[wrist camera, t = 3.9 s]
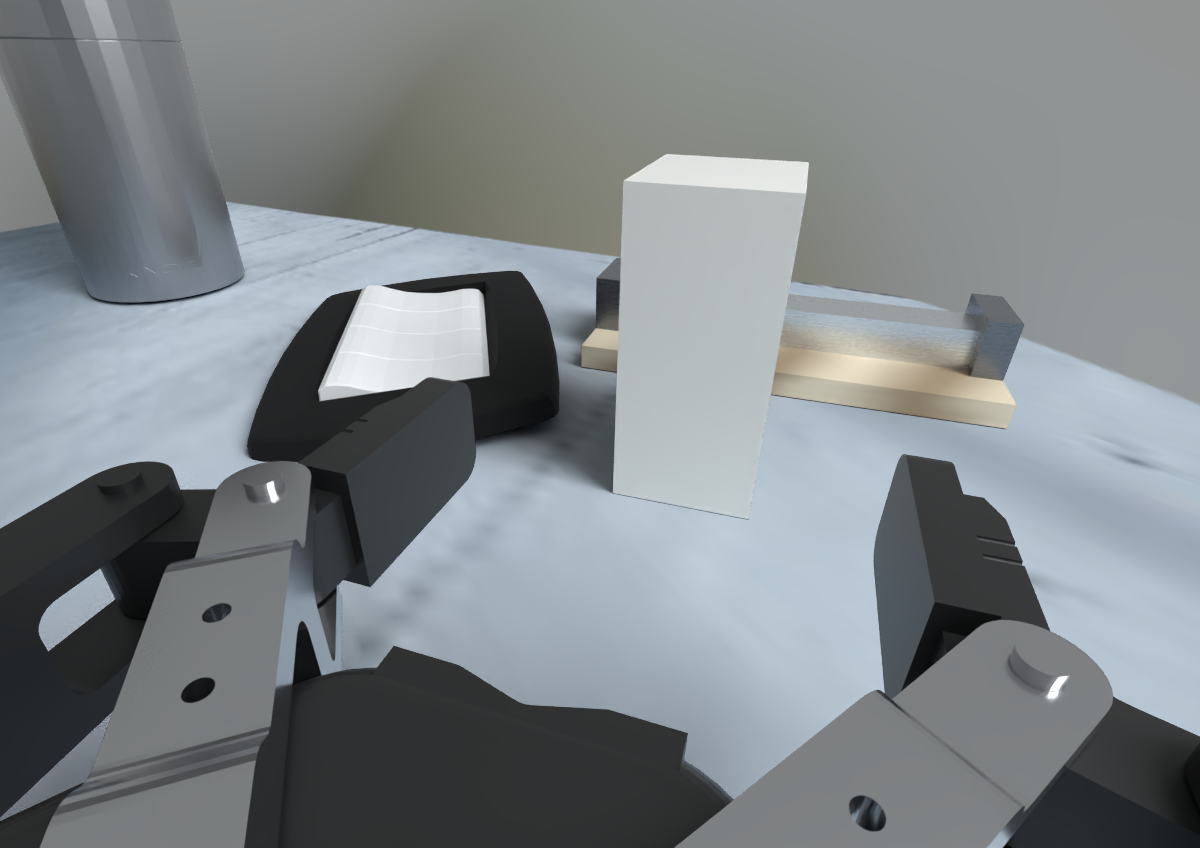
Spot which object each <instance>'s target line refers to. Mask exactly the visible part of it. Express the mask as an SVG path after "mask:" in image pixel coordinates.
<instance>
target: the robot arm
mask: <svg viewBox="0 0 1200 848" xmlns="http://www.w3.org/2000/svg"><path fill="white" fill-rule="evenodd" d="M0 76H1V79H2V81H3V84H4V86H5V89H6V91H7V94H8V96H9V98H10V101H11V103H12V105H13V108H14V111H15V113H16V115H17V118H18V120H19V123H20V125H21V128H22V130H23V133H24V135H25V138H26V140H27V142H28V145H29V148H30V150H31V152H32V155H33V157H34V160H35V162H36V165H37V167H38V170H39V172H40V175H41V177H42V179H43V182H44V184H45V187H46V189H47V191H48V194H49V197H50V199H51V202H52V204H53V206H54V209H55V211H56V214H57V216H58V219H59V221H60V224H61V226H62V229H63V231H64V234H65V237H66V239H67V241H68V244H69V246H70V249H71V251H72V254H73V256H74V259H75V261H76V263H77V266H78V268H79V271H80V273H81V276H82V278H83V280H84V283H85V285H86V288H87V290H88V293H89V294H90V295H91V296H92V297H95V298H97V299H100V300H105V301H113V302H151V301H162V300H170V299H177V298H183V297H189V296H194V295H198V294H203V293H207V292H210V291H213V290H217V289H220V288H223V287H225V286H228V285H230V284H232V283H234V282H236V281H238V280H239V279H240V278H241V277H242V276H243V275H244V272H245V271H244V267H243V264H242V260H241V256H240V253H239V249H238V246H237V242H236V238H235V235H234V231H233V227H232V224H231V220H230V216H229V212H228V208H227V205H226V201H225V197H224V194H223V190H222V187H221V183H220V179H219V176H218V172H217V169H216V165H215V162H214V157H213V154H212V151H211V146H210V143H209V139H208V136H207V132H206V128H205V125H204V121H203V118H202V114H201V110H200V106H199V103H198V99H197V96H196V92H195V89H194V85H193V81H192V77H191V74H190V71H189V66H188V63H187V59H186V56H185V52H184V49H183V45H182V43H181V39H180V35H179V31H178V28H177V24H176V20H175V17H174V13H173V10H172V6H171V2H170V0H0ZM475 458H476V446H475V436H474V425H473V414H472V403H471V394H470V390H469V388H468V386H467V385H466V384H465V383H463V382H457V381H451V380H445V379H439V378H433V377H428V378H426V379H424V380H423V381H421V382H420V383H418V384H417V385H416V386H414V387H413V388H412V389H410V390H409V391H408V392H406V393H405V394H404V395H402V396H401V397H398V398H395V399H393V400H390V401H388V402H385V403H383V404H380V405H378V406H376V407H375V408H373V409H372V410H370V411H369V412H368V413H366V414H365V415H363V416H362V417H361V418H359V422H358V421H355V422H354V423H352V424H351V425H350V426H348V427H347V428H345V431H344V432H340V433H338V434H337V435H336V436H334V437H333V438H331V439H330V440H329V441H327V442H326V443H325V444H323V445H322V446H320V447H319V448H318V449H316V450H315V451H313V452H312V453H311V454H309V455H308V456H306V457H305V458H304V459H302V460H301V461H300V462H298V463H296V462H291V461H274V462H266V463H261V464H257V465H254V466H251V467H248V468H245V469H243V470H240V471H238V472H236V473H235V474H233V475H231V476H230V477H228V478H227V479H225V480H224V481H223V482H222V483H221V484H220V485H219V487H218V488H217V489H207V490H180V488H179V485H178V482H177V480H176V477H175V474H174V472H173V470H172V468H171V467H170V466H168V465H166V464H164V463H160V462H136V463H129V464H125V465H120V466H117V467H113V468H110V469H108V470H105V471H102V472H100V473H98V474H95V475H93V476H91V477H89V478H88V479H86V480H84V481H82V482H81V483H79V484H77V485H75V486H74V487H72V488H70V489H68V490H67V491H65V492H63V493H62V494H60V495H58V496H56V497H55V498H53V499H51V500H49V501H48V502H46V503H44V504H42V505H41V506H39V507H37V508H35V509H34V510H32V511H30V512H28V513H27V514H25V515H23V516H22V517H20V518H18V519H16V520H15V521H13V522H11V523H9V524H8V525H6V526H4V527H2V528H1V529H0V817H1V816H2V815H3V814H4V813H5V812H6V811H7V810H8V809H10V808H11V807H12V806H13V805H14V804H15V803H16V802H17V801H18V800H19V799H20V798H21V797H22V796H23V795H24V794H25V793H26V792H28V791H29V790H30V789H31V788H32V787H33V786H34V785H35V784H36V783H37V782H38V781H39V780H40V779H41V778H42V777H43V776H44V775H46V774H47V773H48V772H49V771H50V770H51V769H52V768H53V767H54V766H55V765H56V764H57V763H58V762H59V761H60V760H61V759H63V758H64V757H65V756H66V755H67V754H68V753H69V752H70V751H71V750H72V749H73V748H74V747H75V746H76V745H77V744H78V743H79V742H81V741H82V740H83V739H84V738H85V737H86V736H87V735H88V734H89V733H90V732H91V731H92V730H93V729H94V728H95V727H96V726H97V725H99V724H100V723H101V722H102V721H103V720H104V719H105V718H106V717H107V716H108V715H109V714H110V713H111V712H112V711H113V710H114V711H113V714H112V716H111V719H110V722H109V725H108V727H107V730H106V733H105V736H104V738H103V741H102V744H101V747H100V749H99V752H98V755H97V757H96V760H95V763H94V766H93V768H92V771H91V773H90V775H89V777H88V779H87V780H86V781H85V782H84V783H81V784H79V785H77V786H75V787H73V788H71V789H68V790H66V791H64V792H62V793H60V794H58V795H56V796H53V797H51V798H49V799H47V800H45V801H43V802H40V803H38V804H36V805H34V806H32V807H30V808H28V809H25V810H23V811H21V812H19V813H17V814H15V815H12V816H10V817H8V818H6V819H4V820H2V821H0V848H1200V736H1197V735H1195V734H1193V733H1191V732H1188V731H1186V730H1184V729H1182V728H1179V727H1177V726H1175V725H1173V724H1170V723H1168V722H1166V721H1164V720H1161V719H1159V718H1157V717H1155V716H1152V715H1150V714H1148V713H1146V712H1143V711H1141V710H1139V709H1137V708H1134V707H1132V706H1130V705H1128V704H1126V703H1124V702H1122V701H1120V700H1118V699H1116V698H1115V697H1113V693H1112V688H1111V685H1110V683H1109V680H1108V679H1107V677H1106V676H1105V674H1104V672H1103V671H1102V670H1101V669H1100V667H1099V666H1098V665H1097V664H1096V663H1095V662H1094V661H1093V660H1092V659H1091V658H1090V657H1089V656H1088V655H1087V654H1086V653H1085V652H1083V651H1082V650H1081V649H1079V648H1078V647H1077V646H1075V645H1074V644H1072V643H1071V642H1069V641H1068V640H1066V639H1064V638H1062V637H1061V636H1059V635H1057V634H1055V633H1053V632H1051V631H1050V629H1049V627H1048V624H1047V622H1046V619H1045V617H1044V614H1043V611H1042V609H1041V606H1040V604H1039V601H1038V599H1037V596H1036V594H1035V591H1034V589H1033V586H1032V584H1031V581H1030V579H1029V576H1028V574H1027V571H1026V569H1025V566H1022V562H1023V561H1022V559H1021V556H1020V553H1019V551H1018V548H1017V547H1015V541H1014V538H1013V536H1012V533H1011V531H1010V528H1009V526H1008V523H1007V521H1006V519H1005V518H1004V517H1003V516H1002V515H1001V514H1000V513H999V512H998V511H997V510H996V509H995V508H994V507H993V506H992V505H990V504H989V503H988V502H987V501H986V500H985V499H984V498H981V497H975V496H970V495H964V494H963V492H962V489H961V485H960V482H959V479H958V476H957V473H956V470H955V467H954V464H953V463H952V462H948V461H942V460H936V459H930V458H924V457H918V456H911V455H905V454H903V455H902V456H901V457H900V459H899V461H898V464H897V467H896V470H895V473H894V476H893V480H892V483H891V487H890V490H889V493H888V497H887V500H886V503H885V507H884V510H883V514H882V517H881V520H880V524H879V527H878V531H877V535H876V541H875V548H874V574H875V586H876V597H877V609H878V620H879V632H880V643H881V654H882V666H883V677H884V689H885V693H883V692H882V691H880V690H875V691H872V692H870V693H868V694H867V695H865V696H864V697H862V698H861V699H860V700H858V701H857V702H856V703H855V704H853V705H852V706H851V707H850V708H848V709H847V710H846V711H845V712H843V713H842V714H841V715H840V716H838V717H837V718H836V719H835V720H833V721H832V722H831V723H830V724H828V725H827V726H826V727H825V728H823V729H822V730H821V731H820V732H818V733H817V734H816V735H815V736H813V737H812V738H811V739H810V740H808V741H807V742H806V743H805V744H803V745H802V746H801V747H800V748H798V749H797V750H796V751H795V752H793V753H792V754H791V755H790V756H788V757H787V758H786V759H785V760H783V761H782V762H781V763H780V764H778V765H777V766H776V767H775V768H773V769H772V770H771V771H770V772H768V773H767V774H766V775H765V776H763V777H762V778H761V779H760V780H758V781H757V782H756V783H755V784H753V785H752V786H751V787H750V788H748V789H747V790H746V791H745V792H743V793H742V794H741V795H740V796H738V797H737V798H736V799H735V800H734V799H733V798H732V797H730V796H729V795H728V794H727V793H726V792H725V791H724V790H723V789H722V788H721V787H720V786H719V785H718V784H717V783H716V782H714V781H713V780H712V779H710V778H709V777H708V776H706V775H705V774H704V773H703V772H701V771H700V770H699V769H697V768H695V767H694V766H692V765H691V764H689V763H687V762H686V761H684V757H685V750H686V742H687V735H688V733H685V732H682V731H678V730H675V729H671V728H668V727H665V726H661V725H658V724H655V723H651V722H648V721H645V720H641V719H638V718H635V717H631V716H628V715H624V714H621V713H618V712H614V711H611V710H606V709H588V708H570V707H553V706H535V705H526V704H522V703H519V702H517V701H515V700H514V699H512V698H511V697H509V696H507V695H506V694H504V693H503V692H501V691H499V690H498V689H496V688H495V687H493V686H491V685H490V684H488V683H487V682H485V681H483V680H482V679H480V678H479V677H477V676H475V675H474V674H472V673H471V672H469V671H467V670H466V669H464V668H463V667H461V666H459V665H456V664H453V663H450V662H446V661H443V660H440V659H436V658H433V657H429V656H426V655H423V654H419V653H416V652H413V651H409V650H406V649H403V648H399V647H396V646H393V648H392V649H391V650H390V652H389V653H388V654H387V656H386V657H385V658H384V659H383V661H382V662H381V663H380V665H379V666H378V667H377V668H363V669H350V670H344V671H342V597H341V593H340V589H339V584H340V583H341V581H342V580H346V581H350V582H353V583H357V584H361V585H364V586H368V587H371V586H372V585H373V584H374V583H375V581H376V580H377V579H378V578H379V577H380V576H381V575H382V574H383V573H384V572H385V570H386V569H387V568H388V567H389V566H390V565H391V564H392V563H393V562H394V560H395V559H396V558H397V557H398V556H399V555H400V554H401V553H402V552H403V551H404V549H405V548H406V547H407V546H408V545H409V544H410V543H411V542H412V541H413V540H414V538H415V537H416V536H417V535H418V534H419V533H420V532H421V531H422V530H423V529H424V527H425V526H426V525H427V524H428V523H429V522H430V521H431V520H432V519H433V517H434V516H435V515H436V514H437V513H438V512H439V511H440V510H441V509H442V508H443V506H444V505H445V504H446V503H447V502H448V501H449V500H450V499H451V498H452V497H453V495H454V494H455V493H456V492H457V491H458V490H459V489H460V488H461V487H462V485H463V484H464V483H465V482H466V481H467V480H468V478H469V477H470V475H471V473H472V470H473V467H474V464H475ZM100 568H101V571H102V573H103V575H104V577H105V579H106V581H107V583H108V585H109V587H110V589H111V591H112V593H113V595H114V597H115V600H114V601H113V602H111V603H110V604H109V605H107V606H106V607H105V608H104V609H102V610H101V611H100V612H98V613H97V614H96V615H95V616H93V617H92V618H91V619H89V620H88V621H87V622H86V623H84V624H83V625H82V626H80V627H79V628H78V629H77V630H75V631H74V632H73V633H71V634H70V635H69V636H68V637H66V638H65V639H64V640H63V641H61V642H60V643H59V644H57V645H56V646H55V647H54V648H52V649H51V650H50V651H47V649H46V647H45V645H44V644H43V642H42V640H41V639H40V636H39V632H38V629H39V623H40V620H41V617H42V615H43V614H44V612H45V611H46V609H47V608H48V607H49V606H50V605H51V604H52V603H53V602H54V601H55V600H56V599H58V598H59V597H61V596H62V595H63V594H65V593H66V592H68V591H69V590H70V589H72V588H73V587H75V586H76V585H77V584H79V583H80V582H82V581H83V580H84V579H86V578H87V577H89V576H90V575H91V574H93V573H94V572H96V571H97V570H98V569H100Z"/></svg>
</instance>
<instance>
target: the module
mask: <svg viewBox="0 0 1200 848" xmlns="http://www.w3.org/2000/svg"><path fill="white" fill-rule="evenodd" d="M808 166H809V163H808V162H794V161H776V160H758V159H742V158H724V157H707V156H689V155H672V154H666V155H664V156H663V157H661V158H660V159H658V160H656V161H655V162H653V163H652V164H650V165H649V166H647V167H645V168H643V169H642V170H640V171H639V172H637V173H635V174H634V175H632V176H631V177H629V178H628V179H626V180H624V184H623V185H624V186H623V213H622V242H621V271H620V300H619V330H618V359H617V388H616V417H615V446H614V475H613V493H616V494H621V495H626V496H631V497H636V498H641V499H646V500H652V501H657V502H662V503H667V504H672V505H677V506H683V507H688V508H693V509H698V510H703V511H708V512H713V513H719V514H724V515H729V516H734V517H739V518H744V519H749V516H750V510H751V504H752V499H753V493H754V487H755V481H756V476H757V470H758V464H759V459H760V453H761V447H762V442H763V436H764V430H765V425H766V419H767V413H768V407H769V402H770V396H771V390H772V385H773V379H774V373H775V368H776V362H777V356H778V350H779V345H780V339H781V333H782V328H783V322H784V316H785V311H786V305H787V299H788V294H789V288H790V282H791V276H792V271H793V265H794V259H795V254H796V247H797V242H798V237H799V231H800V225H801V220H802V214H803V208H804V202H805V196H806V189H807V176H808Z"/></svg>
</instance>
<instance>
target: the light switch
mask: <svg viewBox="0 0 1200 848" xmlns="http://www.w3.org/2000/svg"><path fill="white" fill-rule="evenodd" d="M428 377H433V378H439V379H445V380H451V381H457V382H463V383H465V384H466V385H467V386H468V388H469V390H470V394H471V403H472V414H473V425H474V436H475V439H476V438H480V437H484V436H488V435H492V434H496V433H499V432H503V431H507V430H511V429H515V428H518V427H522V426H526V425H530V424H534V423H538V422H541V421H545V420H548V419H550V418H552V417H554V416H556V414H557V413H558V411H559V375H558V365H557V356H556V350H555V346H554V341H553V337H552V333H551V329H550V324H549V321H548V319H547V316H546V314H545V311H544V308H543V306H542V304H541V302H540V300H539V299H538V297H537V295H536V293H535V291H534V290H533V288H532V286H531V284H530V283H529V282H528V280H527V279H526V278H525V276H524V275H523V274H522V273H521V272H519V271H501V272H489V273H477V274H467V275H457V276H448V277H439V278H430V279H423V280H416V281H409V282H403V283H396V284H390V285H383V286H376V285H372V286H366V287H365V288H364V289H361V290H355V291H349V292H344V293H339V294H335V295H332V296H330V297H329V298H327V299H326V300H325V301H324V302H323V303H322V304H321V305H320V306H319V307H318V308H317V309H316V311H315V312H314V313H313V314H312V315H311V316H310V318H309V319H308V320H307V322H306V323H305V324H304V325H303V327H302V328H301V329H300V330H299V332H298V333H297V334H296V336H295V337H294V339H293V340H292V342H291V343H290V345H289V346H288V348H287V349H286V351H285V352H284V354H283V355H282V357H281V359H280V361H279V363H278V365H277V366H276V368H275V370H274V372H273V374H272V376H271V378H270V380H269V382H268V384H267V387H266V389H265V391H264V394H263V396H262V399H261V401H260V403H259V406H258V408H257V410H256V414H255V417H254V420H253V424H252V427H251V431H250V434H249V437H248V446H247V447H248V450H249V453H250V455H251V457H252V459H253V460H258V461H262V462H274V461H291V462H300V461H301V460H302V459H304V458H305V457H306V456H308V455H309V454H311V453H312V452H313V451H315V450H316V449H318V448H319V447H320V446H322V445H323V444H325V443H326V442H327V441H329V440H330V439H331V438H333V437H334V436H336V435H337V434H338V433H340V432H344V431H345V428H347V427H348V426H350V425H351V424H352V423H354V422H355V421H358V422H359V418H361V417H362V416H363V415H365V414H366V413H368V412H369V411H370V410H372V409H373V408H375V407H376V406H378V405H380V404H383V403H385V402H388V401H390V400H393V399H395V398H398V397H401V396H402V395H404V394H405V393H406V392H408V391H409V390H410V389H412V388H413V387H414V386H416V385H417V384H418V383H420V382H421V381H423V380H424V379H426V378H428Z"/></svg>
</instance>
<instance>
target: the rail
mask: <svg viewBox="0 0 1200 848" xmlns="http://www.w3.org/2000/svg"><path fill="white" fill-rule="evenodd" d="M620 271H621V258H616V259H615V260H614V261H613V262H612V263H611V264H610V265H609V266H608V267H607V268H606V269H605V270H604V271H603V272H602V273H601V274H600V275H599V276H598V277H597V286H596V328H598V329H605V330H613V331H618V330H619V300H620ZM1023 327H1024V323H1023V322H1022V321H1021V320H1020V318H1019V317H1018V316H1017V315H1016V313H1015V312H1014V311H1013V309H1012V308H1011V307H1010V306H1009V304H1008V303H1007V302H1006V300H1005V299H1004V298H1003V297H999V296H990V295H980V294H971V298H970V301H969V304H968V307H967V310H966V313H959V312H949V311H940V310H931V309H921V308H912V307H903V306H894V305H884V304H875V303H866V302H856V301H847V300H838V299H828V298H819V297H810V296H800V295H791V294H788V299H787V305H786V311H785V316H784V322H783V328H782V333H781V339H780V345H779V346H781V347H789V348H796V349H804V350H812V351H820V352H828V353H836V354H844V355H851V356H859V357H867V358H875V359H883V360H891V361H899V362H907V363H914V364H922V365H930V366H938V367H946V368H954V369H962V370H967V371H968V373H969V375H970V377H977V378H984V379H992V380H1000V381H1003V379H1004V377H1005V374H1006V372H1007V369H1008V366H1009V364H1010V361H1011V359H1012V356H1013V353H1014V351H1015V348H1016V346H1017V343H1018V340H1019V338H1020V335H1021V332H1022V330H1023Z"/></svg>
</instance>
